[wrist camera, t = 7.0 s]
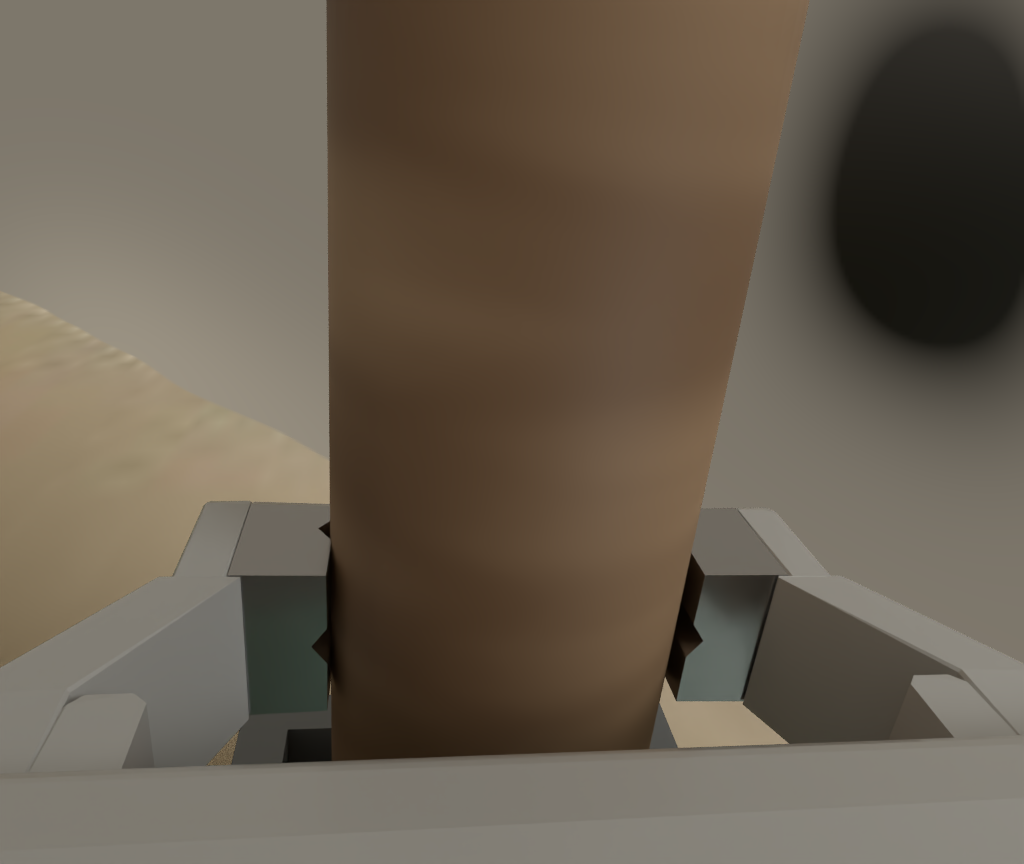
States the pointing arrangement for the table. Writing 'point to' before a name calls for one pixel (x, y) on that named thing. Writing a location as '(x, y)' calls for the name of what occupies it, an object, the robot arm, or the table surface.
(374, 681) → the dowel
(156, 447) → the table surface
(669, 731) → the grey square sleeve
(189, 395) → the table surface
